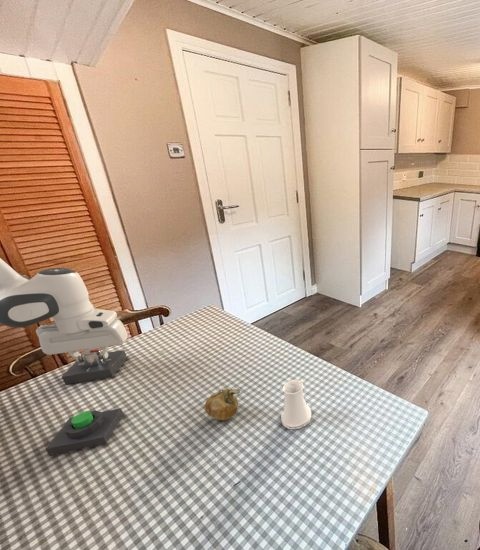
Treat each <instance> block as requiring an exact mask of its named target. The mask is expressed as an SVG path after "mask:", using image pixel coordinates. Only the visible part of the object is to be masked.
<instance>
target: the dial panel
mask: <svg viewBox="0 0 480 550" xmlns="http://www.w3.org/2000/svg"><path fill="white" fill-rule="evenodd" d="M107 353H108V357H107V358H106V359H104V360H103V362H101V363H100V364H98V365H95V366H91V367H87V366H86V365H85V363H84V362H80V363H78V362H77V360H75V362H74V363H73V364H72V365H71V366H70V367H69V368H68V369H67V370H66V371H65V372H64V373H63V374H62V375H61V379H62V381H63V383H64V385H65V386H66V385H71V384H72V385H73V384H79V383H83V382H90V381H96V380H102V379H109V378H114V377H115V375H116V374H117V373H118V371H119V370H120V368H121V367H122V365H123V364H124V363H125V361H126V360H127V358H128V356H127V353H126V350H125V349H120V350H115V351H107Z"/></svg>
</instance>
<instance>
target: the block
mask: <svg viewBox="0 0 480 550" xmlns="http://www.w3.org/2000/svg"><path fill="white" fill-rule="evenodd" d="M89 411H90V412H91V413H92V416H93V418H94V419H93V421H92V422H91V423H90V424H88V425H87V426H84V427H82V428H79V429H75V428H74V427H73V425H72V423H71V420H72V419H73V417H74V416H71V417H69V418H68V420H66V422H65V423H64V424H63V426H62V427H61V428H60V429H59V431H58V432H57V434H55V436H54V437H53V438H52V440H51V441H50V443H49V444H48V445H47V447H46V448H45V450H46V453H47V454H48V456H55V455H59V454H64V453H69V452H74V451H78V450H82V449H88V448H93V447H97V446H102V445H107V444H108V442H109V440H110V438H111V437H112V435H113V433H114V431H115V430H116V428H117V426H118V425H119V423H120V421H121V420H122V417H123V416H124V412H123V409H122V408H121V407H119V408H114V409H108V410H103V411H99V410H95V409H94V410H89Z"/></svg>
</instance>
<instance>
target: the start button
mask: <svg viewBox="0 0 480 550" xmlns="http://www.w3.org/2000/svg"><path fill="white" fill-rule="evenodd" d="M90 411H91V410H87V411H82V412H80V413H79V412H78V414H76V415H75V416H72V417H73V419H72V420H71V423H72V425H73V427H74V428H75V429H79V428H82V427H84V426H87V425H88V424H90V423H91V422H92V421H93V419H94V418H93V416H92V413H91V412H90Z"/></svg>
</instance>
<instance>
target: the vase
mask: <svg viewBox="0 0 480 550" xmlns="http://www.w3.org/2000/svg"><path fill="white" fill-rule="evenodd" d="M282 391H283V394H284V401H285V402H284V403H285V404H284V409H283V410H282V412H281V416H280V420H281V425H282V426H284V427H285V428H286V429H288V430H298V429H301V428H304V427H305V426H307V425H308V424H309V423H310V421H311V419H312V409H311V407H310V406H309V405H307V403H306V401H305V398H304V383H303V381H301V380H299V379H291V380H288V381H287V382H286V383H284V385H283V386H282Z"/></svg>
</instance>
